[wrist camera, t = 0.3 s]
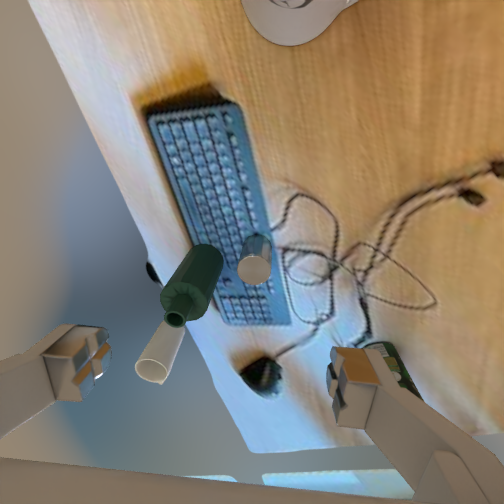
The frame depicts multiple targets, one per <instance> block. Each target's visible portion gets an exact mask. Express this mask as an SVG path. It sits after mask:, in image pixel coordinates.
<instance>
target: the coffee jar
mask: <svg viewBox="0 0 504 504" xmlns="http://www.w3.org/2000/svg"><path fill="white" fill-rule="evenodd" d="M365 348H367V349H377V350H378V351H379V352H380V354H381V355H382V357H383V359H384V360H385V362H386V364H387V365H388V367H389V369H390V370H391V372H392V374H393V376H394V377H395V379H396V381H397V382H398V384H399V386H400V387H401V388H406V389H407V390H409V391H410V392H411V393H413V394H414V395H415V396H417V397H418V398H419V399H421V400H422V401H423V402H424V400H423V399H422V397H421V395H420V393H419V392H418V390H417V388H416V386H415V384H414V383H413V381H412V379H411V377H410V375H409V373H408V371H407V370H406V368H405V366H404V364H403V362H402V360H401V358H400V356H399V354H398V352H397V350H396V349H395V347H394V346H393V345H392V344H389V343H382V342H381V343H373V344H371V345H368V346H366V347H365Z"/></svg>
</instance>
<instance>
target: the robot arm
mask: <svg viewBox="0 0 504 504" xmlns="http://www.w3.org/2000/svg"><path fill="white" fill-rule="evenodd" d="M357 1H358V0H241V3H242V6H243V9H244V11H245V13H246V16H247V18H248V19H249V21H250V23H251V24H252V26H253V27H254V28H255V29H256V30H257V32H258V33H259V34H261V35H262V36H263V37H264V38H266V39H267V40H269V41H271V42H273V43H276V44H279V45H284V46H294V45H300V44H303V43H306V42H308V41H310V40H312V39H314V38H315V37H317V36H318V35H320V34H321V33H322V32H323V31H324V30H325V29H326V28H327V27H328V26H329V25H330V24H331V23H332V21H333V20H334V19H335V18H336V16H337V15H338V14H339V13H340V12H341V11H342V10H343V9H345V8H347V7H349V6H351V5H352V4H354V3H356V2H357ZM108 338H109V334H108V330H107V329H106V328H104V327H95V326H86V325H74V324H62V325H59V326H58V327H57V328H55V329H54V330H53V331H52V332H50V333H49V334H48V335H47V336H45V337H44V338H43V339H41V340H40V341H39V342H38V343H36V344H35V345H34V346H33V347H31V348H30V349H29V350H27V351H26V352H25V353H23V354H17V355H14V356H11V357H9V358H6V359H4V360H1V361H0V439H1V438H3V437H4V436H6V435H7V434H9V433H10V432H12V431H13V430H14V429H16V428H18V427H19V426H21V425H22V424H24V423H25V422H27V421H28V420H30V419H31V418H32V417H34V416H35V415H37V414H38V413H40V412H41V411H43V410H44V409H46V408H47V407H49V406H50V405H51V404H53V403H55V402H56V400H61V401H76V402H82V400H83V399H84V398H85V397H86V395H87V394H88V393H89V392H90V390H91V389H92V388H93V386H94V385H95V379H96V378H97V377H99V376H101V375H102V374H103V373H104V372H105V371H106V369H107V368H108V366H109V364H110V361H111V356H112V351H111V346H110V345H109V344H108V343H107V342H106V341H107V339H108ZM330 358H331V361H332V362H331V363H330V364H329V365H328V367H327V388H328V392H329V395H330V396H331V397H332V398H333V399H334V400H333V405H332V408H333V412H334V416H335V419H336V423H337V426H340V427H348V428H356V429H364V430H365V432H366V433H367V435H368V436H369V437H370V438H371V439H372V441H373V442H374V443H375V444H376V445H377V447H378V448H379V449H380V450H381V451H382V453H383V454H384V455H385V456H386V457H387V459H388V460H389V461H390V462H391V464H392V465H393V466H394V467H395V468H396V470H397V471H398V472H399V473H400V474H401V476H402V477H403V478H404V479H405V481H406V482H407V483H408V484H409V485H410V487H411V488H412V489H413V490H414V491H415V493H414V495H413V498H412V500H411V501H410V500H401V499H391V498H382V497H373V496H363V495H354V494H344V493H335V492H325V491H316V490H306V489H297V488H287V487H277V486H268V485H258V484H247V483H239V482H229V481H220V480H210V479H200V478H191V477H181V476H171V475H163V474H153V473H143V472H134V471H125V470H116V469H106V468H97V467H87V466H78V465H68V464H59V463H49V462H39V461H30V460H21V459H12V458H2V457H0V504H504V466H503V465H502V463H501V462H500V461H499V459H498V458H497V457H496V455H495V454H493V453H492V452H491V451H489V450H488V449H487V448H485V447H484V446H483V445H481V444H480V443H479V442H477V441H476V440H474V439H473V438H472V437H471V436H469V435H468V434H467V433H465V432H464V431H462V430H461V429H460V428H458V427H457V426H456V425H454V424H453V423H452V422H450V421H449V420H448V419H446V418H445V417H444V416H442V415H441V414H440V413H438V412H437V411H436V410H434V409H433V408H432V407H430V406H429V405H427V404H426V403H425V402H423V401H422V400H421V399H419V398H418V397H417V396H415V395H414V394H413V393H411V392H410V391H409V390H407V389H406V388H401V387H400V386H399V384H398V382H397V381H396V379H395V377H394V376H393V374H392V372H391V370H390V369H389V367H388V365H387V364H386V362H385V360H384V359H383V357H382V355H381V354H380V352H379V351H378V350H377V349H367V348H361V349H360V348H347V347H334V346H333V347H332V349H331V352H330Z"/></svg>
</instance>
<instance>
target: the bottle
mask: <svg viewBox="0 0 504 504" xmlns="http://www.w3.org/2000/svg"><path fill="white" fill-rule="evenodd" d="M222 268H223V257H222V255H221V253H220V252H219V251H218V250H217V249H216V248H215V247H213V246H211V245H207V244H199V245H196V246H194V247H193V248H192V249H191V250H190V251H189V252H188V254H187V255H186V257H185V258H184V259H183V261H182V262H181V264H180V265H179V267H178V268H177V270H176V271H175V272H174V274H173V275H172V277H171V278H170V280H169V281H168V283H167V284H166V286H165V287H164V289H163V290H162V292H161V294H160V298H161V299H160V301H161V304H162V306H163V308H164V310H166V313H165V315H164V320H165V322H166V323H167V324H168V325H169V326H171V327H174V328H180V327H183V326H184V325H185V323H186V321H192V320H197V319H199V318H200V317H202V316H203V315H204V314H205V312H206V311H207V308H208V306H209V303H210V300H211V298H212V295H213V292H214V290H215V287H216V284H217V281H218V279H219V276H220V273H221V271H222Z"/></svg>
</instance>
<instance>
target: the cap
mask: <svg viewBox="0 0 504 504" xmlns="http://www.w3.org/2000/svg"><path fill="white" fill-rule="evenodd" d="M271 260H272V246H271V243H270V241H269V240H268V239H267V238H266V237H265V236H262V235H257V234H255V235H252V236H249V237H248V238H247V239H246V240H245V241H244V243H243V247H242V251H241V254H240V258H239V262H238V267H237V272H238V275H239V277H240V278H241V279H242V280H243V281H244V282H245V283H248V284H251V285H258V284H262V283H264V282H265V281H266V280H267V279H268V278H269V276H270V273H271Z"/></svg>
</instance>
